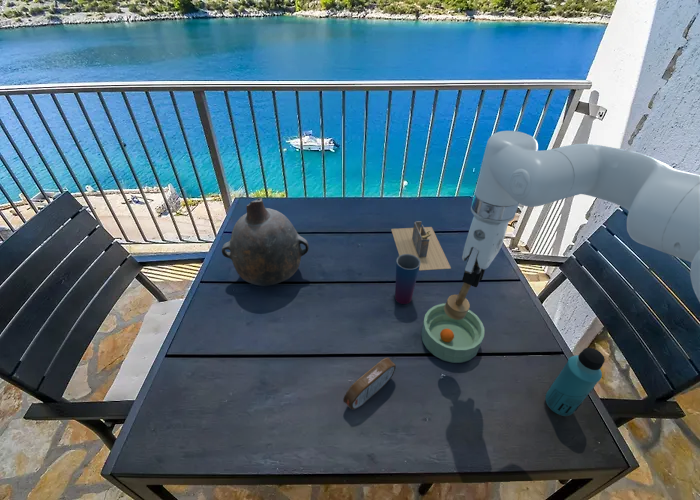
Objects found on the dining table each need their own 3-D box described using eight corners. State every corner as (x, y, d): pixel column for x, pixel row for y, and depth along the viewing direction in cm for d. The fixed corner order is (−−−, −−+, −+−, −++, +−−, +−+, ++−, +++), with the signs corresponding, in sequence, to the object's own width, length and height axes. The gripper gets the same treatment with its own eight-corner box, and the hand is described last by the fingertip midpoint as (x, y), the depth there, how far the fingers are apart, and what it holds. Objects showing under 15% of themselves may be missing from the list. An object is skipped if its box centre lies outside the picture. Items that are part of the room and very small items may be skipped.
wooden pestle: (466, 306, 82) (491, 255, 71) (465, 322, 78) (491, 272, 67) (445, 300, 82) (466, 249, 72) (442, 316, 79) (465, 265, 68)
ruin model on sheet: (451, 268, 119) (456, 246, 113) (404, 271, 118) (407, 248, 112) (431, 226, 139) (435, 205, 133) (391, 228, 137) (393, 207, 131)
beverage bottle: (548, 419, 79) (586, 369, 66) (537, 392, 84) (570, 340, 72) (577, 420, 79) (621, 370, 66) (564, 393, 84) (602, 341, 71)
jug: (290, 246, 129) (280, 171, 110) (318, 280, 115) (312, 200, 96) (224, 270, 118) (201, 191, 100) (246, 310, 104) (224, 228, 85)
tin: (387, 369, 89) (389, 349, 83) (396, 378, 87) (399, 358, 82) (342, 408, 81) (342, 388, 76) (351, 418, 79) (351, 399, 74)
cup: (403, 309, 104) (409, 272, 95) (387, 297, 109) (391, 260, 99) (418, 299, 108) (425, 262, 98) (402, 287, 112) (407, 250, 103)
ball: (452, 341, 91) (442, 346, 94) (458, 336, 94) (448, 341, 96) (445, 329, 92) (435, 334, 94) (451, 324, 95) (441, 329, 97)
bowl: (487, 334, 97) (492, 320, 94) (466, 374, 88) (471, 361, 84) (435, 309, 105) (439, 295, 101) (411, 344, 95) (413, 330, 91)
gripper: (501, 232, 55) (475, 311, 66) (528, 193, 65) (502, 268, 76) (456, 217, 58) (438, 294, 70) (489, 182, 68) (469, 255, 80)
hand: (472, 280), depth 73 cm, fingers closed on wooden pestle
